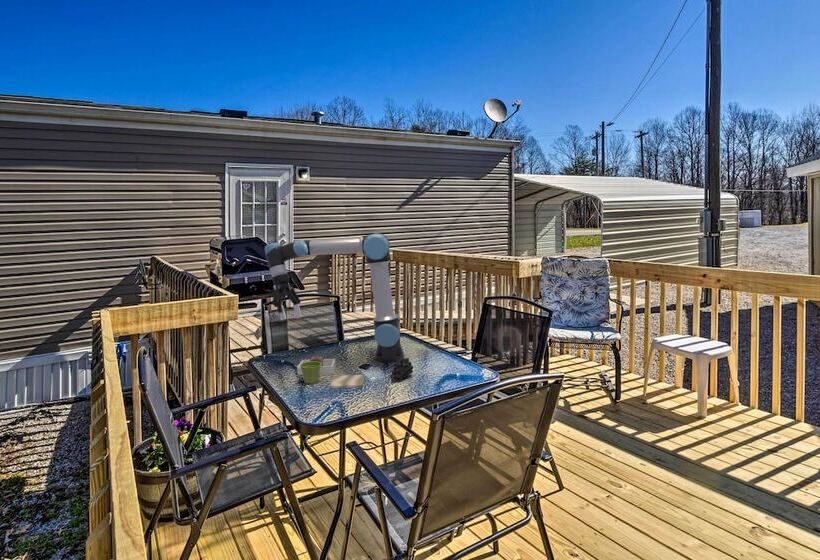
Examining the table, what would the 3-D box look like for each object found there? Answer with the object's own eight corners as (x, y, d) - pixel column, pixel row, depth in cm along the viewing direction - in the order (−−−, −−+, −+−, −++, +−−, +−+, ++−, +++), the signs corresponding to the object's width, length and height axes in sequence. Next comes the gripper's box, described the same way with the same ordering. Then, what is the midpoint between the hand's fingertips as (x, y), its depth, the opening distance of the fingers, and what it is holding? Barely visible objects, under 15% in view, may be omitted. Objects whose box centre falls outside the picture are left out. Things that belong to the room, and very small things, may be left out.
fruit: (394, 363, 213) (412, 354, 225) (380, 367, 217) (398, 357, 230) (400, 382, 212) (418, 372, 225) (386, 385, 217) (404, 375, 229)
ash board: (364, 376, 224) (364, 374, 224) (362, 387, 210) (362, 385, 210) (333, 377, 224) (333, 375, 224) (329, 388, 210) (329, 386, 210)
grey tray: (335, 367, 239) (335, 358, 238) (332, 375, 227) (332, 366, 226) (302, 368, 238) (302, 359, 238) (297, 376, 226) (297, 367, 226)
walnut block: (323, 368, 235) (322, 356, 234) (321, 371, 230) (321, 359, 229) (312, 368, 235) (312, 356, 234) (310, 372, 230) (310, 359, 229)
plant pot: (317, 387, 212) (316, 367, 210) (297, 386, 213) (296, 367, 212) (325, 380, 221) (324, 361, 220) (306, 379, 223) (305, 360, 221)
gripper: (287, 278, 245) (298, 319, 243) (257, 277, 222) (269, 322, 219) (300, 273, 243) (311, 314, 241) (271, 272, 219) (283, 318, 217)
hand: (291, 318), depth 230 cm, fingers open, 13 cm apart
